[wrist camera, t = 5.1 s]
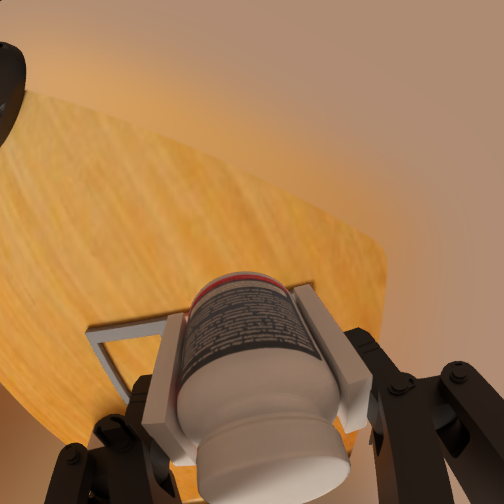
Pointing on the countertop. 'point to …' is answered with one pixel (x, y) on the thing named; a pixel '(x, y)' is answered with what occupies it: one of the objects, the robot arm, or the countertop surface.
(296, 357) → the pill bottle
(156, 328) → the keyhole board
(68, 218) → the countertop surface
